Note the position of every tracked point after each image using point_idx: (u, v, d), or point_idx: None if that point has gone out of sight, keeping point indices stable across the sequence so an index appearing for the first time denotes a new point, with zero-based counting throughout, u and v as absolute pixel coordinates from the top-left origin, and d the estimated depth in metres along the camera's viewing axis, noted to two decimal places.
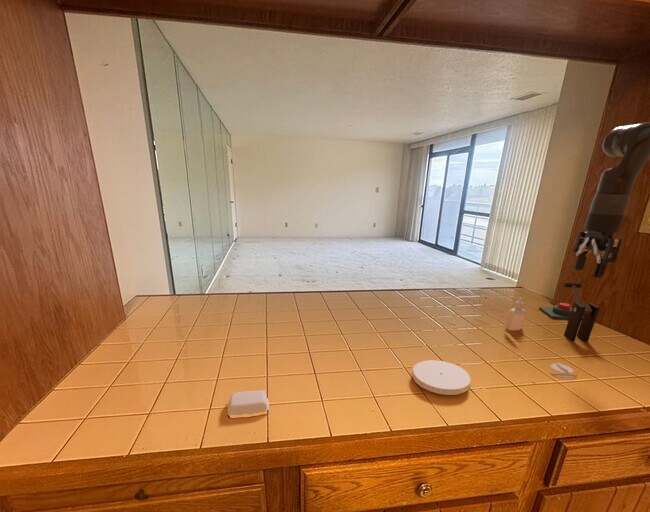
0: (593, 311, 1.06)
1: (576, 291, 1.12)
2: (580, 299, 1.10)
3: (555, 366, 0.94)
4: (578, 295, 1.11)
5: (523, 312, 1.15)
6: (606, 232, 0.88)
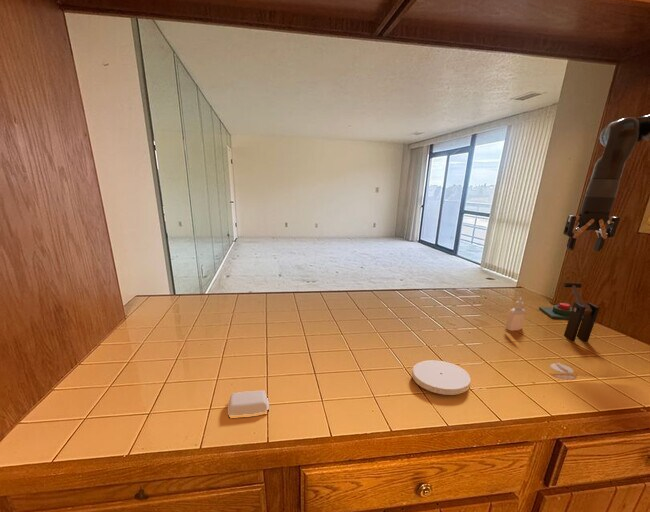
0: (593, 311, 1.06)
1: (576, 291, 1.12)
2: (580, 299, 1.10)
3: (555, 366, 0.94)
4: (578, 295, 1.11)
5: (523, 312, 1.15)
6: (581, 211, 1.06)
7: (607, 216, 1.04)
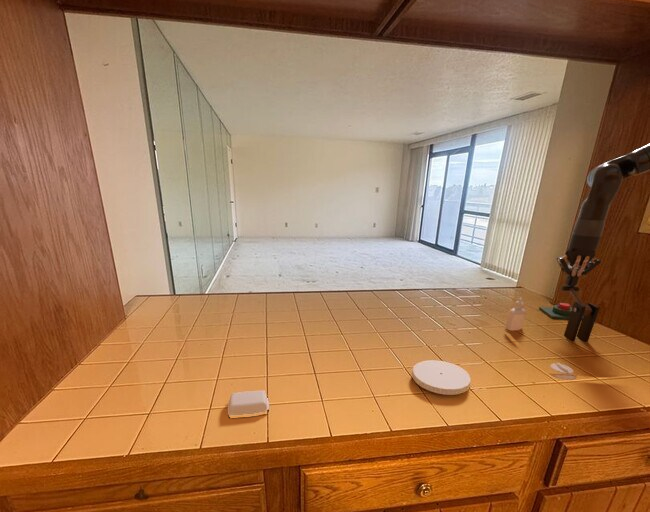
0: (593, 311, 1.06)
1: (574, 293, 1.13)
2: (579, 300, 1.10)
3: (555, 366, 0.94)
4: (577, 297, 1.11)
5: (523, 312, 1.15)
6: None
7: (593, 253, 1.10)
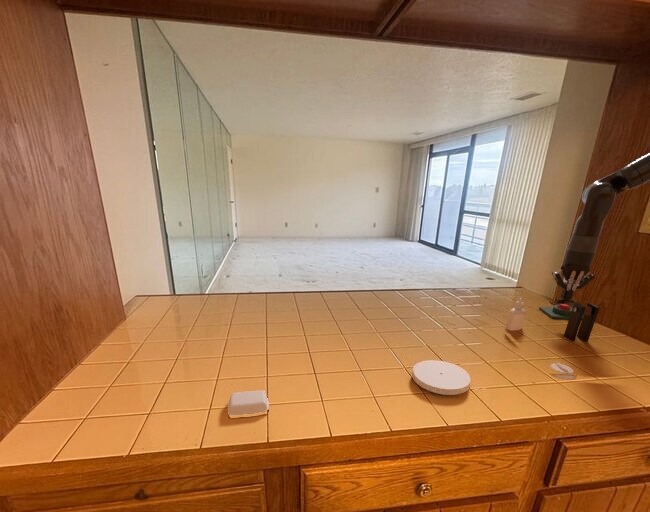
0: (593, 311, 1.06)
1: (570, 302, 1.15)
2: None
3: (555, 366, 0.94)
4: (573, 304, 1.13)
5: (523, 312, 1.15)
6: None
7: (587, 268, 1.12)
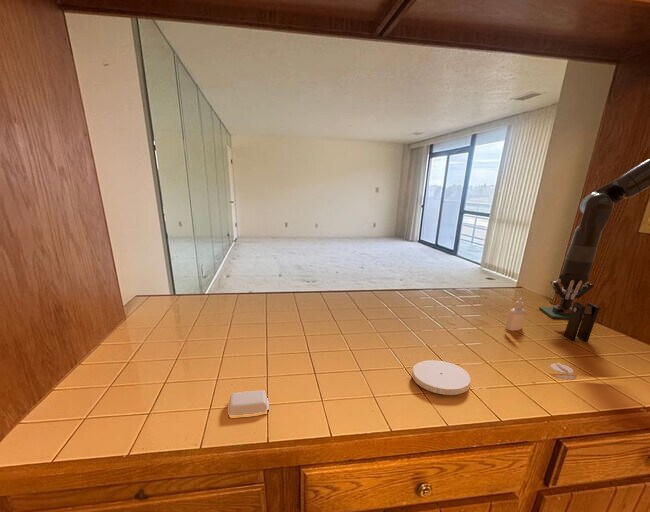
0: (593, 311, 1.06)
1: (569, 309, 1.15)
2: None
3: (555, 366, 0.94)
4: None
5: (523, 312, 1.15)
6: (562, 271, 1.14)
7: (586, 277, 1.12)
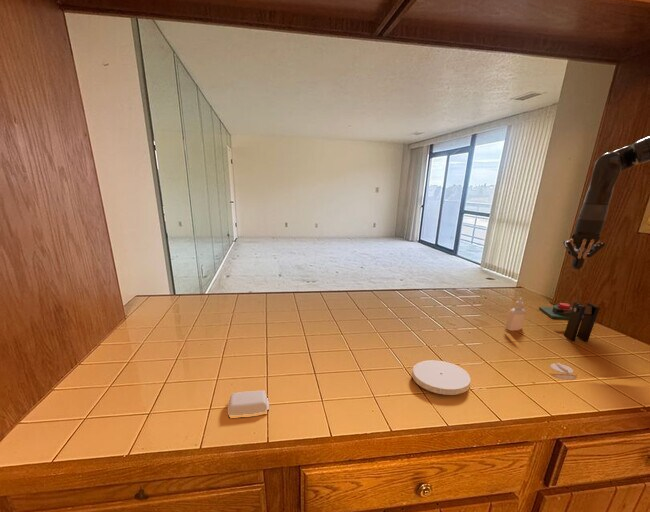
0: (593, 311, 1.06)
1: (569, 309, 1.15)
2: None
3: (555, 366, 0.94)
4: None
5: (523, 312, 1.15)
6: None
7: (597, 236, 1.17)
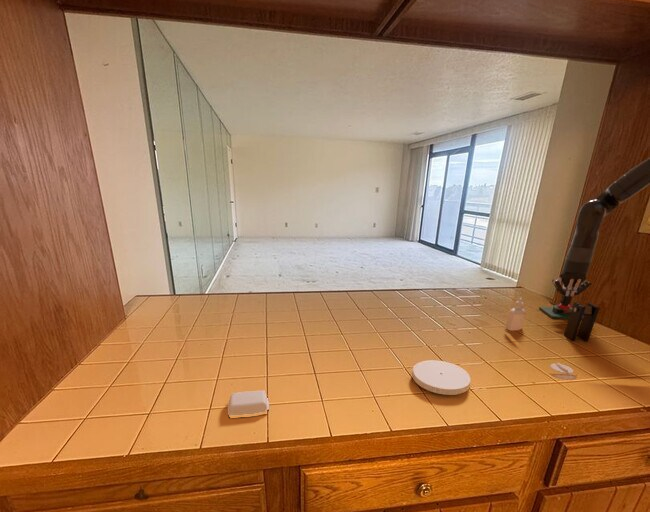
0: (593, 311, 1.06)
1: (569, 309, 1.15)
2: None
3: (555, 366, 0.94)
4: None
5: (523, 312, 1.15)
6: None
7: (584, 276, 1.24)
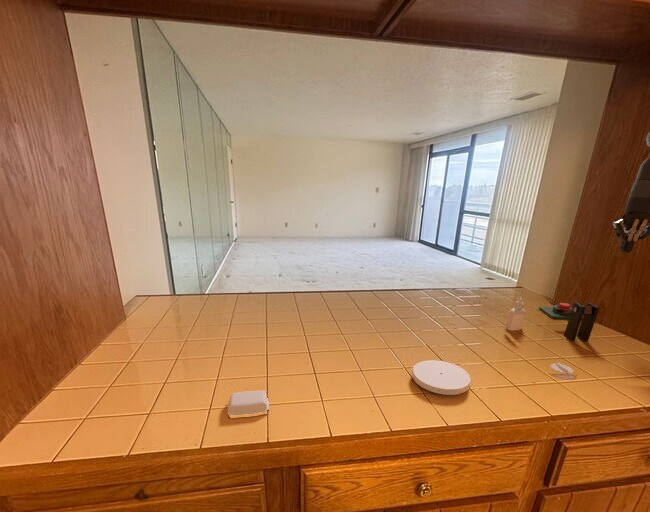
0: (593, 311, 1.06)
1: (569, 309, 1.15)
2: None
3: (555, 366, 0.94)
4: None
5: (523, 312, 1.15)
6: (625, 211, 1.08)
7: None
